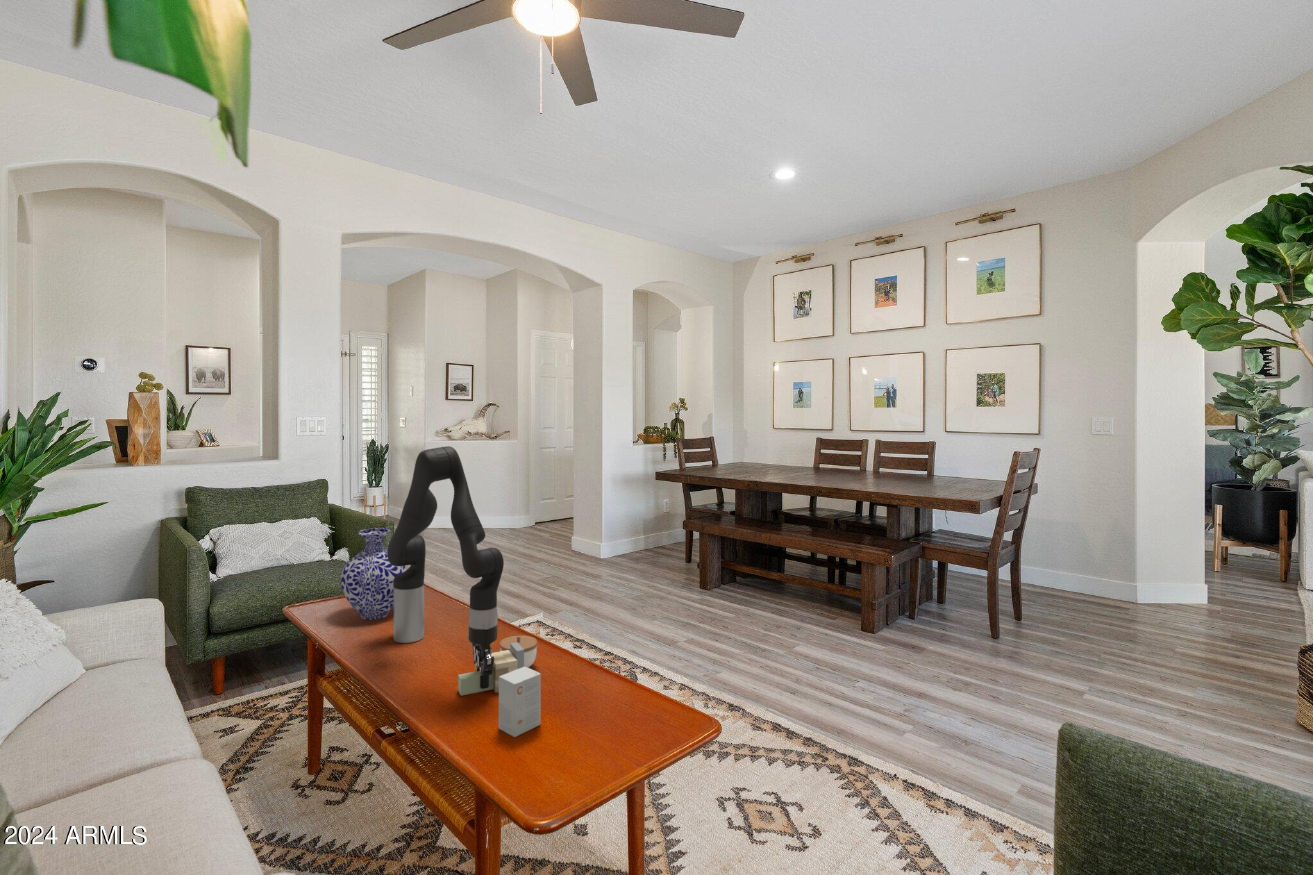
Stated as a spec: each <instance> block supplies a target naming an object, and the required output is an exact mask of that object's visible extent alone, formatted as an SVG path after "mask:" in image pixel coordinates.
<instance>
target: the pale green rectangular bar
mask: <svg viewBox="0 0 1313 875" xmlns="http://www.w3.org/2000/svg"><path fill="white" fill-rule="evenodd" d="M457 678H458V679H457V682H458V683H457V691H458V693H459V695H460V696H465V695H467V696H468V695H469V694H470V695H471V694H472V695H473V694H476V693H482V692H487V691H490V690H494V668H493V670H492V675H489V687H488V688H485V689H481V688H480V671H472V672H471V671H470V672H467V673H461V674H457Z"/></svg>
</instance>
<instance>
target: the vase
mask: <svg viewBox="0 0 1313 875" xmlns="http://www.w3.org/2000/svg"><path fill="white" fill-rule="evenodd" d="M390 532H391V529H389V528H380V527H378V528H377V527H376V528H373V527H372V528H367V529H366V528H365V529H360V530H359V531H358V535H359V536H360V537H362V538H364V541H365V548H364V549H363V550H362V551H361V552H359V553H357V554H356V555H354V556H353V557H352V558H350V560H348V561H347V563H346V564H345V565H344V567H343V569H342V571H341V577H340V586H341V587H340V588H341V590H342V593H343V595H344V596H345V598H346V600H347V601H348V603H349V605H350V606H352V608H353V609H354V610H355V611H356V612H357V613H358V614H359V615H360V617H361V619H362V620H367V621H371V620H380V619H384V618H386V617H387V616H389V613H390V612H391V610H392V609H393V580H394V578H395V577H396V576H397V575H399V574H401V573H403V572H405V571H406V570H407V567H406V566H407V565H406V566H393V565H391V564H390V562H389V561H388V557H387V551H388V549H386V548H385V546H384V539H385V536H388V535H389V534H390Z"/></svg>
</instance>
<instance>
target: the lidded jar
mask: <svg viewBox="0 0 1313 875" xmlns="http://www.w3.org/2000/svg"><path fill="white" fill-rule="evenodd" d="M516 642H518V644H519V645H520V646H521V647H522V648H523V649H524V667H527V668H530V667H531V666H532V665H533V664H534V662H535V660H536V657H537V651H538V639H536V638H535V637H533V636H530V635H513V636H507V637H505V638H503V639H502V640H500V642H499V652H500V651H505V650H509V651H510V643H516Z"/></svg>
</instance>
